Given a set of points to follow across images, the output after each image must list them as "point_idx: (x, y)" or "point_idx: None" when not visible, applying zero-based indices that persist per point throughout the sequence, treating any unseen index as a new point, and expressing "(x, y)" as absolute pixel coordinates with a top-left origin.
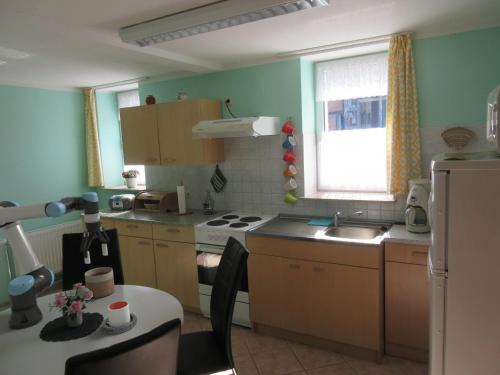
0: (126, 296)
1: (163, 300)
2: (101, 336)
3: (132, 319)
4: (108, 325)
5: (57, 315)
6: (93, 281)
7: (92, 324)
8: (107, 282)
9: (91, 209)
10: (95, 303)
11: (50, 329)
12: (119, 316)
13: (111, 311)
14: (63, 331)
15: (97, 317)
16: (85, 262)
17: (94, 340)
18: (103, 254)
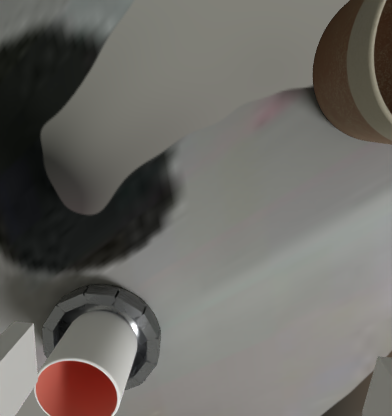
0: (343, 229)
1: (309, 388)
2: (30, 314)
3: (141, 360)
4: (86, 304)
5: (113, 14)
6: (350, 71)
7: (86, 237)
8: (387, 141)
9: None
10: (258, 123)
11: (5, 90)
12: (60, 388)
13: (37, 384)
14: (11, 160)
15: (138, 221)
16: (5, 338)
17: (3, 307)
18: (381, 378)
